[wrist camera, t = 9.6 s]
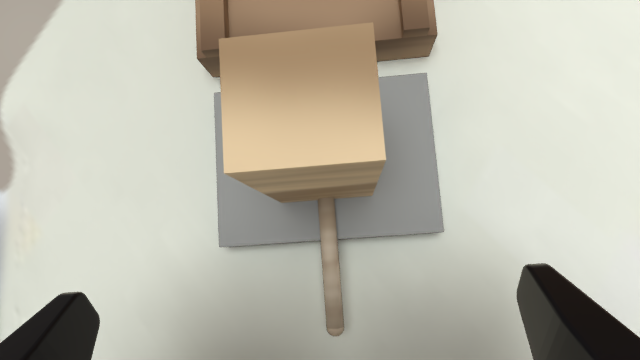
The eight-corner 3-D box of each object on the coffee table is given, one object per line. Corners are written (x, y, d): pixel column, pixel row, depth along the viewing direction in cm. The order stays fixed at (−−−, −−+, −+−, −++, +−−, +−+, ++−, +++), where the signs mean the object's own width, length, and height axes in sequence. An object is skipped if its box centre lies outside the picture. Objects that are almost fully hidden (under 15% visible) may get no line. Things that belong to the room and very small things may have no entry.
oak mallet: (384, 331, 20) (409, 410, 11) (289, 336, 20) (233, 418, 11) (365, 117, 22) (373, 22, 12) (276, 125, 22) (218, 38, 13)
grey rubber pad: (438, 232, 22) (444, 231, 21) (227, 246, 23) (219, 247, 21) (422, 83, 23) (426, 72, 22) (222, 101, 24) (213, 92, 22)
